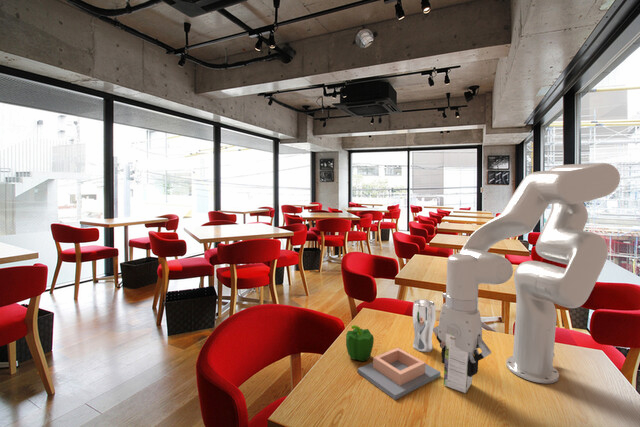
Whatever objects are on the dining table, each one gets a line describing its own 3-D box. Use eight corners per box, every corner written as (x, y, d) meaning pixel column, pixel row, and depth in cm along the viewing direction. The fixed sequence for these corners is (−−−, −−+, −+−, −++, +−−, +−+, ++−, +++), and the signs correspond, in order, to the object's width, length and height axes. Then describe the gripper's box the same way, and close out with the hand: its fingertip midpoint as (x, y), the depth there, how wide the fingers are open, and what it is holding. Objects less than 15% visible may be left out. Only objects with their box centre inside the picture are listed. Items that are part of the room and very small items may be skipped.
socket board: (401, 354, 102) (401, 341, 102) (440, 376, 91) (440, 361, 90) (357, 372, 92) (357, 358, 92) (395, 400, 81) (395, 383, 80)
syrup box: (450, 375, 91) (452, 325, 89) (473, 383, 87) (475, 331, 86) (443, 385, 86) (444, 332, 85) (466, 394, 83) (469, 339, 81)
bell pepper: (375, 353, 103) (376, 322, 102) (369, 366, 95) (370, 333, 94) (350, 348, 106) (350, 318, 105) (342, 360, 98) (342, 328, 97)
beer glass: (435, 354, 102) (437, 307, 101) (412, 351, 104) (414, 305, 102) (432, 343, 109) (434, 299, 108) (410, 341, 110) (412, 298, 109)
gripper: (424, 295, 89) (422, 357, 91) (486, 317, 75) (483, 390, 77) (441, 290, 94) (439, 350, 95) (503, 310, 79) (499, 379, 81)
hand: (458, 367), depth 86 cm, fingers closed on syrup box, 6 cm apart
